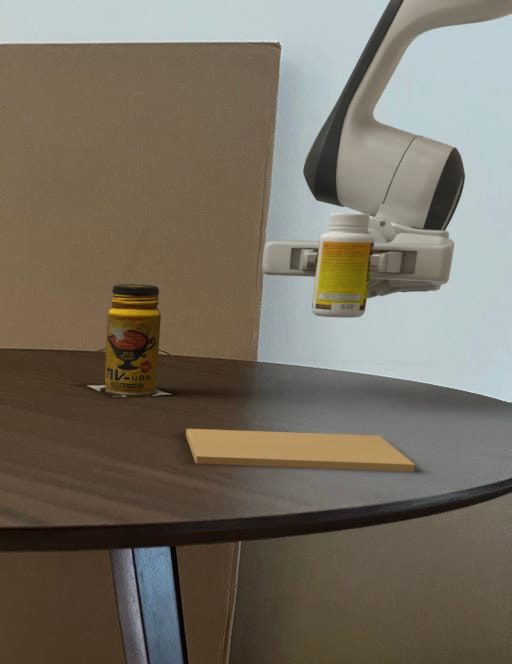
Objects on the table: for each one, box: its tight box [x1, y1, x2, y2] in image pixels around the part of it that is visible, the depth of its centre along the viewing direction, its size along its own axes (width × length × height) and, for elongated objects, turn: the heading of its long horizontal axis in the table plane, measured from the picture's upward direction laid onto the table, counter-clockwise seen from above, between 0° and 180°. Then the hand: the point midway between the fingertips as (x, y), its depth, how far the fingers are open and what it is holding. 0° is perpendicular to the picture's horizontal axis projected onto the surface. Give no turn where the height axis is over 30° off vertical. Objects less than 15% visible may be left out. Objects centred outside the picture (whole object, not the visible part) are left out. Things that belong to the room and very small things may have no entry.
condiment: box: [88, 283, 172, 398], centre depth 119 cm, size 7×8×12 cm
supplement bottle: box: [311, 212, 374, 319], centre depth 109 cm, size 6×6×10 cm
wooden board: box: [185, 428, 416, 473], centre depth 91 cm, size 18×12×1 cm, turn 86°
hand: (342, 261), depth 108 cm, fingers closed on supplement bottle, 5 cm apart
